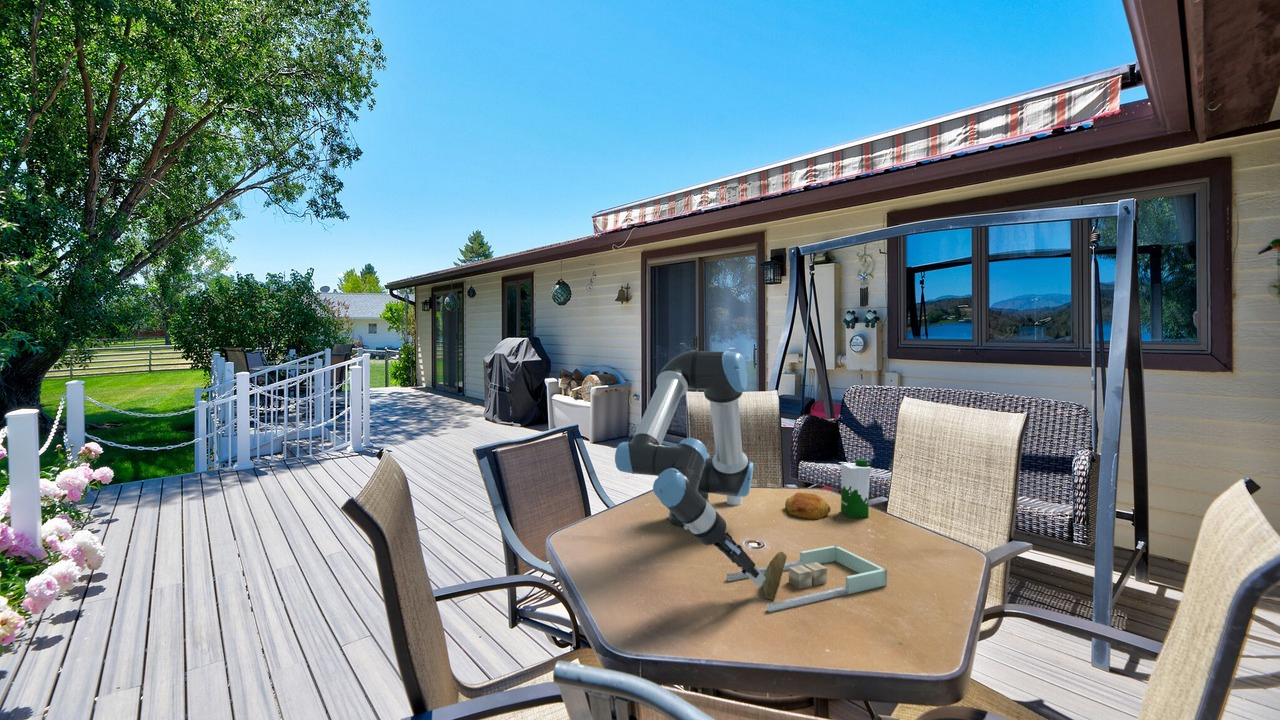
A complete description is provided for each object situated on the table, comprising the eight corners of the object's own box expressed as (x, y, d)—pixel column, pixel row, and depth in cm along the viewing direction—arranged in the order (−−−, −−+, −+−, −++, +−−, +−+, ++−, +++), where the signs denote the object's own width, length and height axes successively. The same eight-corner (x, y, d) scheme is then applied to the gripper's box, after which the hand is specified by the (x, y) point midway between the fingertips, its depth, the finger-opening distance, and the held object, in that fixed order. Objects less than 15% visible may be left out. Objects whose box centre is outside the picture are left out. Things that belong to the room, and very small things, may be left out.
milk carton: (872, 518, 194) (874, 462, 193) (847, 518, 193) (849, 462, 192) (860, 510, 203) (862, 457, 202) (836, 510, 202) (838, 457, 201)
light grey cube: (799, 589, 138) (799, 573, 138) (788, 582, 141) (789, 567, 141) (811, 586, 139) (811, 571, 139) (801, 580, 143) (801, 565, 143)
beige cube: (814, 585, 140) (815, 570, 140) (803, 579, 143) (804, 564, 143) (826, 583, 141) (827, 568, 141) (815, 576, 145) (816, 562, 145)
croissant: (793, 510, 209) (791, 489, 209) (834, 513, 199) (832, 490, 200) (778, 519, 197) (776, 496, 197) (822, 522, 188) (819, 498, 188)
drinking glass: (746, 503, 209) (747, 477, 209) (737, 506, 205) (737, 480, 204) (731, 499, 214) (732, 474, 214) (722, 502, 209) (722, 477, 209)
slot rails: (769, 612, 125) (769, 605, 125) (726, 580, 142) (726, 574, 142) (848, 594, 135) (848, 588, 135) (799, 565, 152) (799, 560, 152)
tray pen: (848, 594, 135) (848, 578, 135) (799, 565, 152) (800, 551, 151) (886, 585, 140) (887, 570, 140) (835, 559, 157) (835, 545, 157)
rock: (781, 597, 128) (802, 580, 135) (762, 564, 131) (783, 549, 137) (753, 608, 135) (774, 591, 142) (735, 577, 138) (757, 562, 144)
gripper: (680, 525, 132) (736, 582, 139) (708, 544, 120) (768, 605, 127) (700, 501, 133) (754, 559, 141) (729, 518, 122) (787, 580, 129)
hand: (761, 581), depth 134 cm, fingers closed
